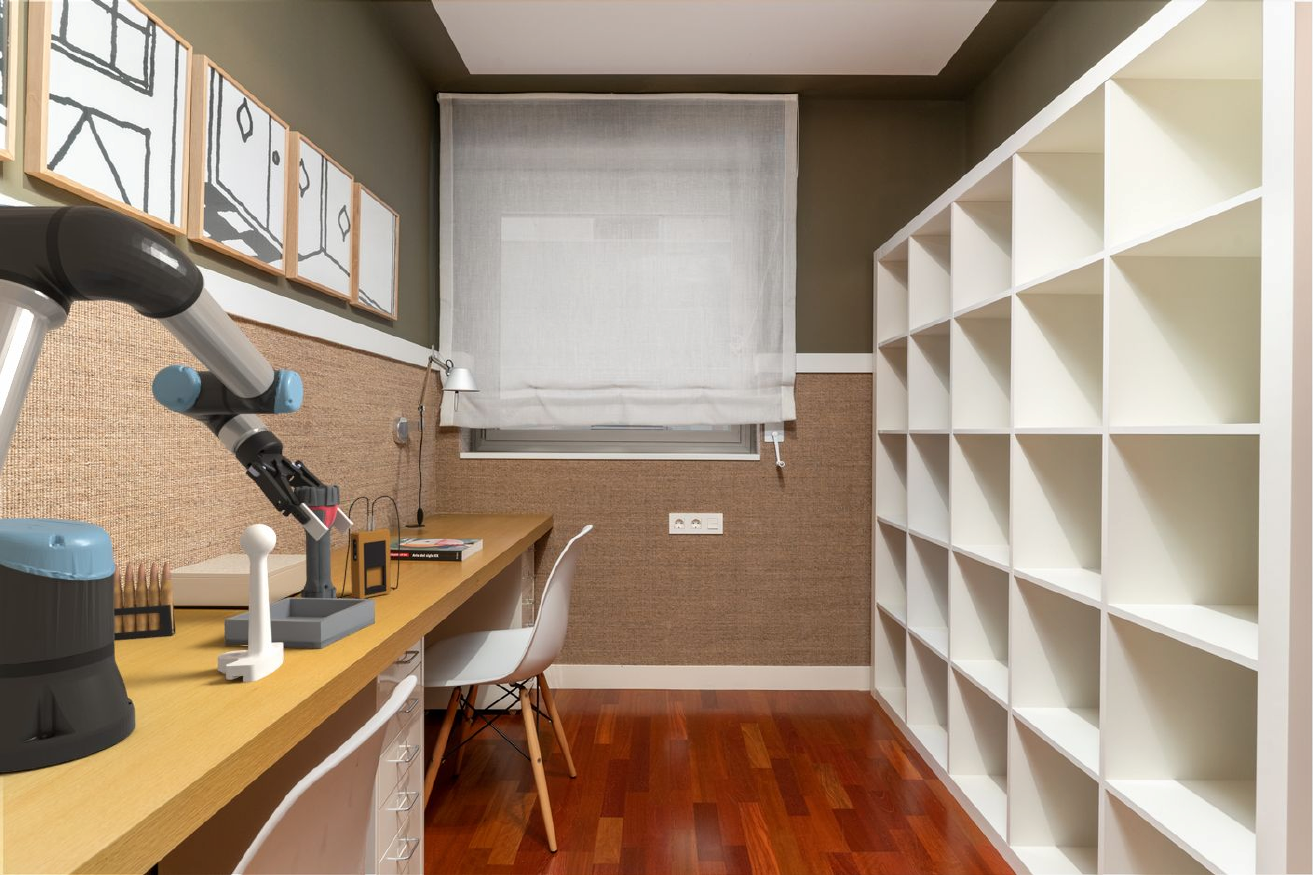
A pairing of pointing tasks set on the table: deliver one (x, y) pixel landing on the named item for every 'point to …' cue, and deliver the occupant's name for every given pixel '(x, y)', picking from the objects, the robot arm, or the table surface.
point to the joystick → (255, 614)
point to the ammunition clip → (143, 604)
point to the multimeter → (370, 559)
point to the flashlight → (318, 552)
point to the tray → (307, 621)
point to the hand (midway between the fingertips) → (335, 531)
